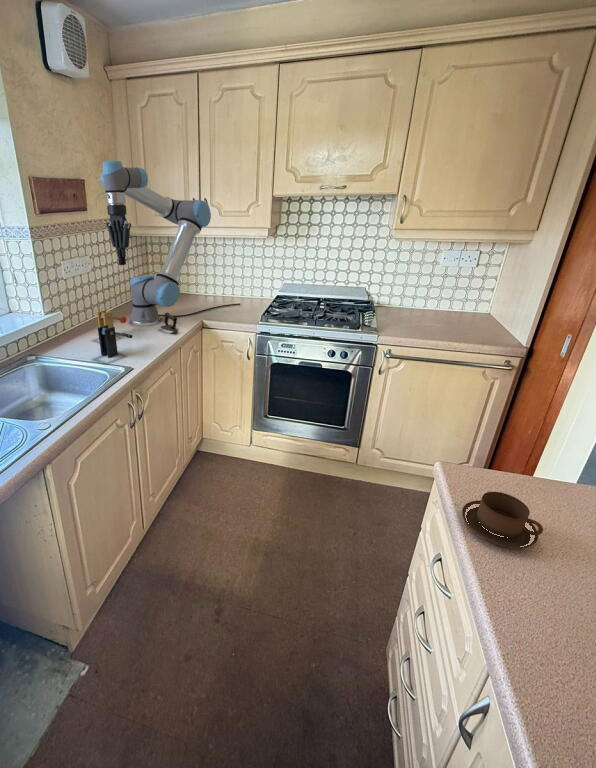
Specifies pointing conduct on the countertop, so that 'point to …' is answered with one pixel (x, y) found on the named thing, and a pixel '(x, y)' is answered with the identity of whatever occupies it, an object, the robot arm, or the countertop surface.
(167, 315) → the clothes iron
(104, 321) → the bracket brass
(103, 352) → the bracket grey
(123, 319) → the lever brass
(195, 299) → the countertop surface
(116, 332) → the lever grey
